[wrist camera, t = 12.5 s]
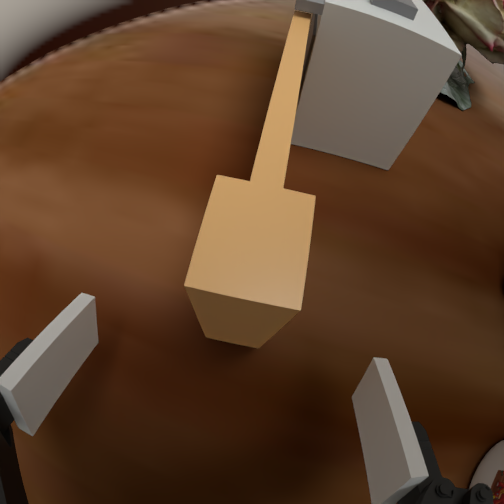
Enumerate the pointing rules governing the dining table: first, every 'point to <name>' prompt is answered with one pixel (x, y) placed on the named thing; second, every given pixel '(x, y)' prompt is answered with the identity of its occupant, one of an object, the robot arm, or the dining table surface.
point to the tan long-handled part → (257, 228)
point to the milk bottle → (492, 472)
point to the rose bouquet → (470, 37)
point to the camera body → (369, 76)
